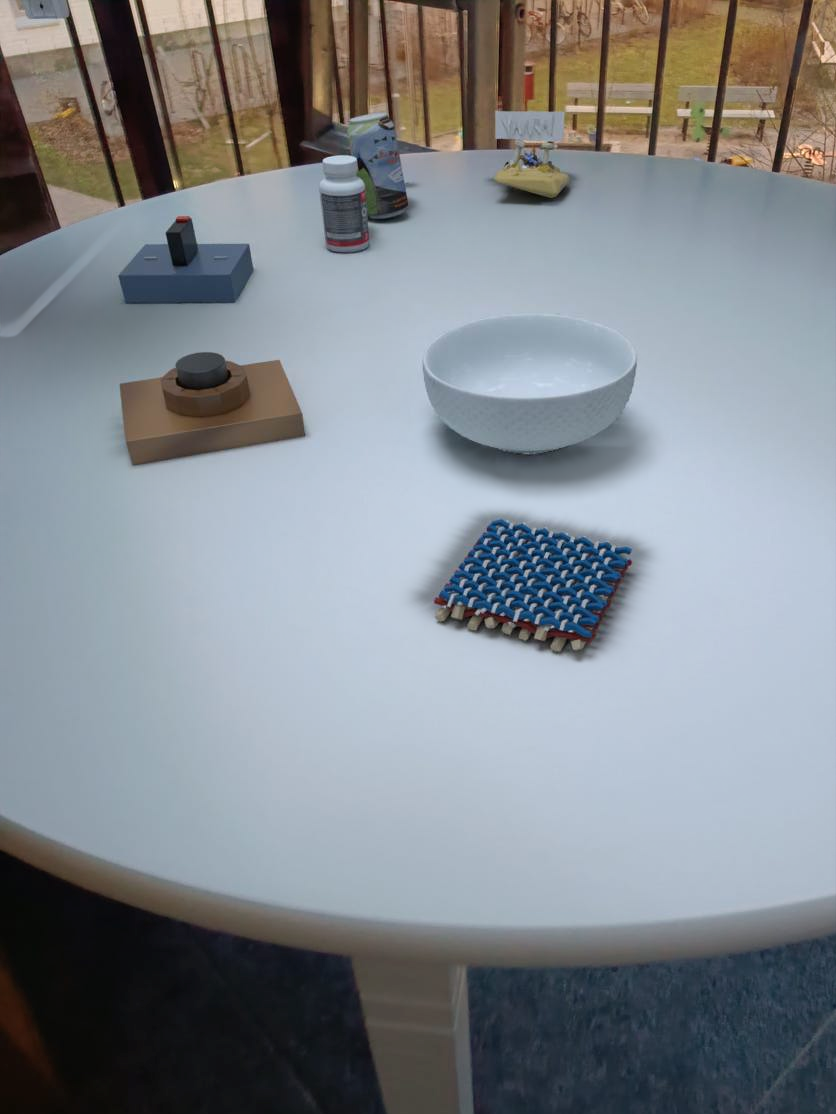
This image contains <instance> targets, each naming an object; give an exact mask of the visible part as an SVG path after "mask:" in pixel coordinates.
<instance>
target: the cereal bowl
mask: <svg viewBox="0 0 836 1114" xmlns="http://www.w3.org/2000/svg"><path fill="white" fill-rule="evenodd" d="M637 356H638V355H637V351H636V349H635V347H634V346H633V344H632V343H631V341H629V339H627V337H625V336H624V335H623V334H621V333H620V332H618V331H617V330H615V329H613V328H611V327H608V326H606V325H604V324H601V323H597V322H595V321H592V320H588V319H585V318H581V317H580V318H579V317H574V316H568V315H562V314H552V313H511V314H502V315H494V316H488V317H484V318H479V319H474V320H472V321H471V320H470V321H467V322H464V323H461V324H459V325H456V326H453V327H451V328H449V329H447V330H445V331H443V332H442V333H440V334H439V335H437V336H436V337H435V338H433V339H432V340H431V341H430V342H429V343H428V344H427V346H426V348H425V350H424V351H423V355H422V361H421V362H422V363H421V365H422V373H423V381H424V387H425V390H426V395H427V397H428V400H429V403H430V405H431V407H432V408H433V410H434V412H435V414H437V416H438V417H439V419H441V420H442V422H443V423H444V424H445V425H447V426H448V427H449V428H450V429H451V430H453V431H454V432H455V433H457V434H458V435H460V436H461V437H462V438H466V439H467V440H469V441H473V442H474V443H477V444H480V445H482V446H487V447H490V448H495V449H497V448H498V449H497V450H500V449H501V450H500V451H503V450H505V451H504V452H506V451H508V452H507V453H510V452H514V453H513V454H516V453H522V454H521V455H525V454H524V453H529V454H528V455H535V454H534V453H542V454H544V453H543V452H547V451H552V452H554V451H553V450H555V451H557V450H556V449H558V450H560V449H559V448H561V447H563V448H565V447H570V446H573V445H576V444H580V443H581V442H585V441H586V440H588V439H590V438H593V437H594V436H596V435H598V434H599V433H601V432H602V431H604V430H607V428H608V427H609V426H610V425H612V424H613V423H614V421H616V420H617V419H618V417H619V416H620V415H621V414H622V413H623V411H624V409H626V407H627V403H628V402H629V401H630V397H631V395H632V393H633V388H634V385H635V379H636V376H637V375H636V373H637V368H638V367H637V366H638V357H637ZM561 449H562V448H561ZM547 453H548V452H547Z"/></svg>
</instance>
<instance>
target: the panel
mask: <svg viewBox="0 0 836 1114" xmlns="http://www.w3.org/2000/svg"><path fill="white" fill-rule="evenodd" d="M197 247H198V251H197V253H196V254H195V255H194V257H193V258H192V260H191V261H190V262H189V264H188V265H187V266H173V264H172V260H171V255H170V251H169V246H168V243H147V244H146V243H145V244H144V246H142V247H141V248H140V250H139V251H138V252H137V253H136V254H135V255H134V257H133V258H132V259H131V260H130V261H129V262H128V264H126V266H125V267H124V268H123V270H121V271H120V273H119V274H118V275H117V277H118V281H119V283H120V287H121V291H122V295H123V299H124V302H125V304H138V303H139V304H161V303H162V304H164V303H165V304H167V303H168V304H169V303H170V304H172V303H180V304H184V303H185V304H186V303H192V304H193V303H194V304H195V303H196V304H197V303H236V302H237V300H238V298H239V296H240V294H241V293H242V291H243V289H244V287H245V285H246V284H247V282H248V280H249V279H250V276H252V273H253V272H254V264H253V259H252V253H251V246H250V243H197Z"/></svg>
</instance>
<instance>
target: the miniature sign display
mask: <svg viewBox="0 0 836 1114" xmlns="http://www.w3.org/2000/svg"><path fill="white" fill-rule="evenodd" d="M494 113H495V114H494V115H495V116H494V117H495V118H494V124H495V125H494V126H495V127H494V129H495V130H494V132H495V133H494V135H495V136H494V137H495V138H494V139H495V140H498V139H499V140H501V139H502V140H510V139H513V140H515V141H514V145H515V150H514V154H513V158H511V159H510V162H509V161H506V162H505V164H504V165H503V168H502V169H501V170H498V172H496V173H495V174H494V177H493V178H494V181H495V182H496V183H498V184H502V185H505V186H508V187H511V189H514V188H515V189H514V190H517V189H518V190H521V191H522V190H523V191H526V192H529V193H532V194H534V195H535V194H536V195H539V196H542V197H545V198H549V199H553V198H556V197H557V196H558V195H559V194H560V192H561V191H562V190H563V189H564V188H565V186H567V184H568V183H569V182H570V176H569V175H568V174H567V173H565V172H563V171H561V170H560V167H558V166H555V164H553V162H552V160H549V157H550V150H553V148H554V143H558V142H559V143H562V142H563V143H564V142H565V141H564V140H565V115H566V114H565V113H566V111H564V110H559V111H545V110H542V111H537V110H527V111H510V110H508V111H506V110H505V111H504V110H497V109H496V110H495V111H494ZM526 142H542V143H541V148H542V149H544V150H543V157H539V158H538V156H537V154H536V152H537V151H536V149H537V148H536V147H533V148H532V150H531V151H530V152H528V150H524V151H523V152H524V154H521V153H522V150H523V149H524V148H525V146H526ZM542 158H543V159H542ZM405 185H410V183H409V182H405Z"/></svg>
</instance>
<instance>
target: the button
mask: <svg viewBox="0 0 836 1114" xmlns="http://www.w3.org/2000/svg"><path fill="white" fill-rule="evenodd" d="M225 361H226V358H225V357H224V356H223V355H222V354H220V353H217V352H212V351H202V352H201V351H200V352H193V353H189V354H187V355H185V356H182V357H180V358H179V359H177V360H176V362H175V368H176V370H177V375H178V379H179V383H180V386H181V387H182V388H184V389H189V390H204V389H211V388H216V387H218V386H220V385H223V384H225V383H227V382H228V380H229V377H228V372H227V367H226V362H225Z"/></svg>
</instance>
